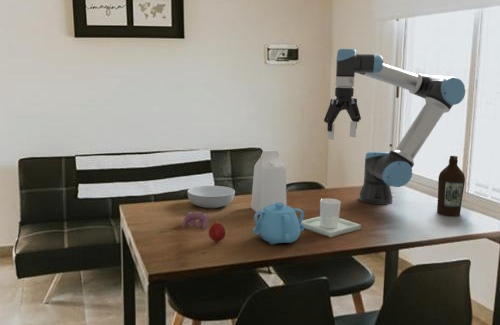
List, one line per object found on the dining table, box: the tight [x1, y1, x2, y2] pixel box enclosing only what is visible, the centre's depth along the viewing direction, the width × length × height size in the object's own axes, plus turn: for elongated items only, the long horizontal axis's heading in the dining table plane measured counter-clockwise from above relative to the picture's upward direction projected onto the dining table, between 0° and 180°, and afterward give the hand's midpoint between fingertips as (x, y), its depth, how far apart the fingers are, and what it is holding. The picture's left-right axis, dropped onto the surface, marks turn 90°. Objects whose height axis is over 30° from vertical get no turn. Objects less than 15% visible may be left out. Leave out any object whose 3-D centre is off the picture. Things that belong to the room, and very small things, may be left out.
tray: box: [300, 216, 362, 238], centre depth 210 cm, size 17×17×2 cm
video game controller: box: [181, 211, 210, 231], centre depth 207 cm, size 10×5×7 cm, turn 72°
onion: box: [208, 220, 226, 244], centre depth 190 cm, size 6×6×8 cm
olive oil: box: [436, 155, 466, 217], centre depth 232 cm, size 11×11×25 cm
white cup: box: [319, 198, 342, 228], centre depth 210 cm, size 8×8×10 cm
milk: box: [250, 149, 287, 216], centre depth 230 cm, size 12×12×26 cm
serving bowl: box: [186, 185, 236, 209], centre depth 238 cm, size 21×21×7 cm
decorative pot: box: [252, 202, 305, 245], centre depth 194 cm, size 16×16×14 cm
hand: (341, 138), depth 228 cm, fingers open, 13 cm apart
